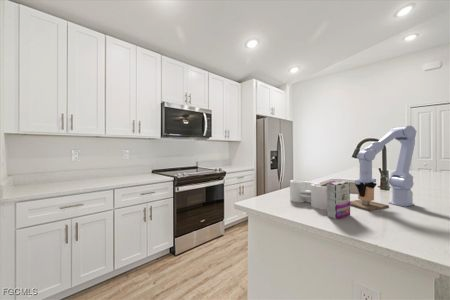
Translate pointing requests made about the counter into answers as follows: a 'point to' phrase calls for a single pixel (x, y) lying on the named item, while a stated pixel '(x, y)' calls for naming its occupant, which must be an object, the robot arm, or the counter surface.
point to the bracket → (309, 193)
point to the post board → (367, 205)
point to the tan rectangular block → (367, 194)
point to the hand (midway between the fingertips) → (365, 196)
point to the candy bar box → (338, 199)
